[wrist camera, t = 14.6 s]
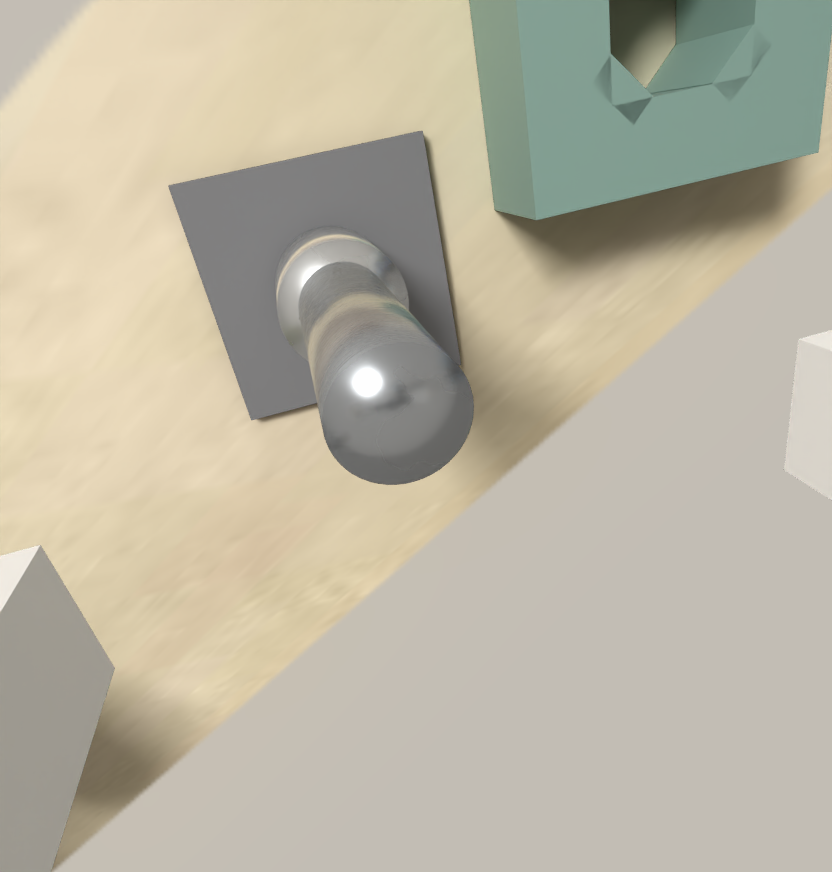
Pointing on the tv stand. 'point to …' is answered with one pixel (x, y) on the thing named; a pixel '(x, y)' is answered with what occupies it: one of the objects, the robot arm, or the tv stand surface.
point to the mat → (290, 217)
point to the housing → (643, 98)
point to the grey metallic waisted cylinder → (370, 359)
